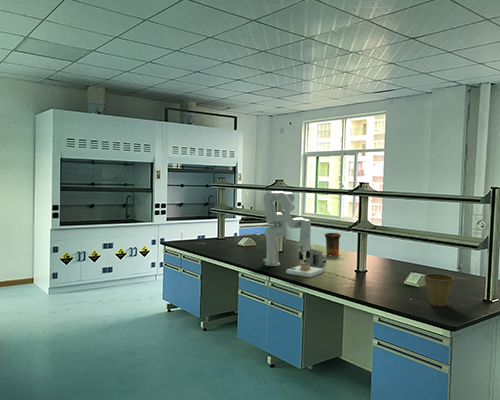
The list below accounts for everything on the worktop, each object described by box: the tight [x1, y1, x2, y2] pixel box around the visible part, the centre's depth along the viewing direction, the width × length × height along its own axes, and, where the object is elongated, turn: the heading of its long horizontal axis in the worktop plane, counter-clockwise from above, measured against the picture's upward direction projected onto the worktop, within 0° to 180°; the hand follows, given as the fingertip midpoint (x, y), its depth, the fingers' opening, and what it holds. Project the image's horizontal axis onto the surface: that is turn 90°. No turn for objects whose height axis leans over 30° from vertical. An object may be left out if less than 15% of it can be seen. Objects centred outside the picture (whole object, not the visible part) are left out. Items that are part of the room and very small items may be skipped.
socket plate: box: [286, 264, 324, 278], centre depth 314 cm, size 20×20×4 cm
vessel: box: [324, 232, 342, 257], centre depth 386 cm, size 14×14×20 cm
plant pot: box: [424, 273, 454, 307], centre depth 236 cm, size 15×15×16 cm
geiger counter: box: [305, 248, 328, 269], centre depth 338 cm, size 14×6×25 cm
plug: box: [300, 262, 311, 271], centre depth 314 cm, size 5×5×7 cm
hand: (304, 258), depth 315 cm, fingers open, 9 cm apart
